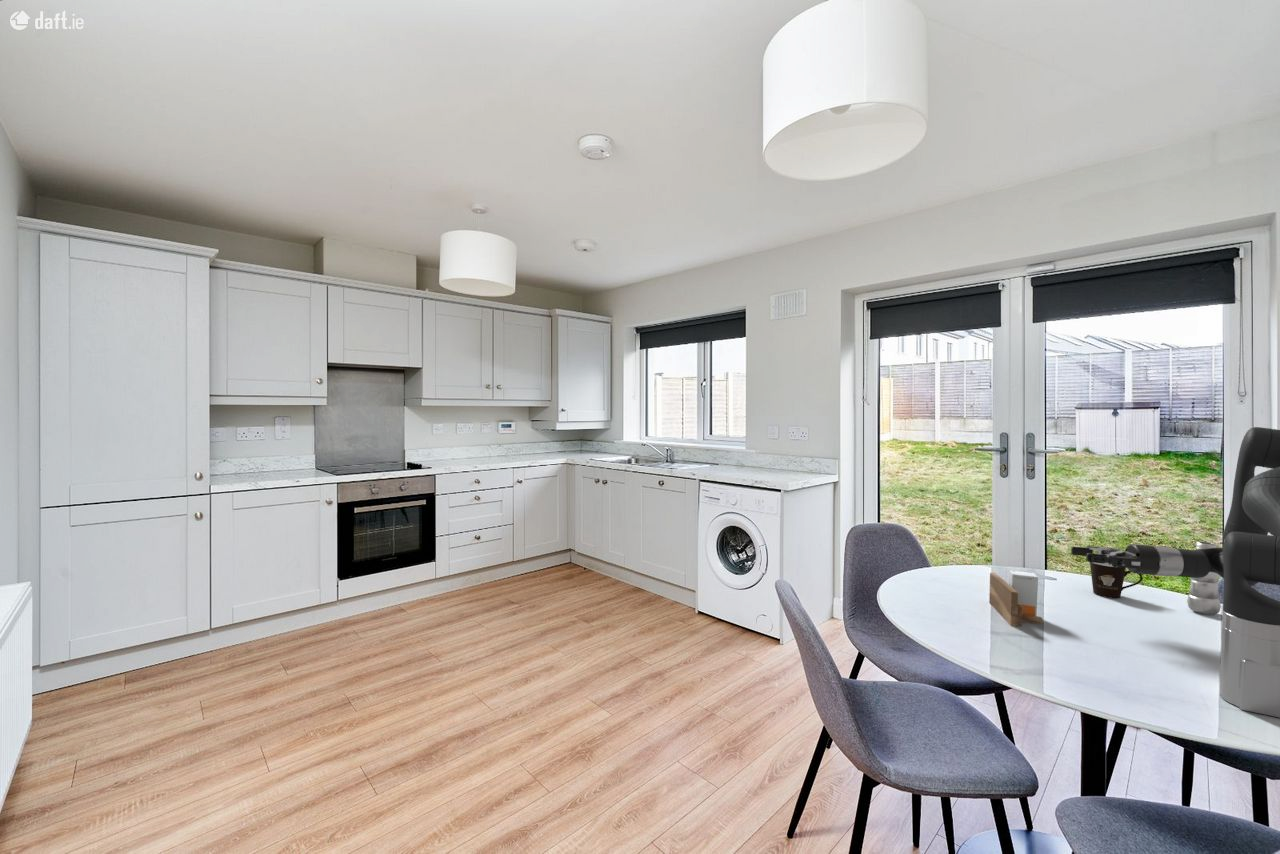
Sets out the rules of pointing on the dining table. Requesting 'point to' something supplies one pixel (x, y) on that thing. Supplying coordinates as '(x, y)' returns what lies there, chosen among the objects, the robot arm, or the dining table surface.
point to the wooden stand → (1008, 602)
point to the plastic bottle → (1204, 590)
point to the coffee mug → (1109, 580)
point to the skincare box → (1025, 590)
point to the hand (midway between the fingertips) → (1079, 553)
